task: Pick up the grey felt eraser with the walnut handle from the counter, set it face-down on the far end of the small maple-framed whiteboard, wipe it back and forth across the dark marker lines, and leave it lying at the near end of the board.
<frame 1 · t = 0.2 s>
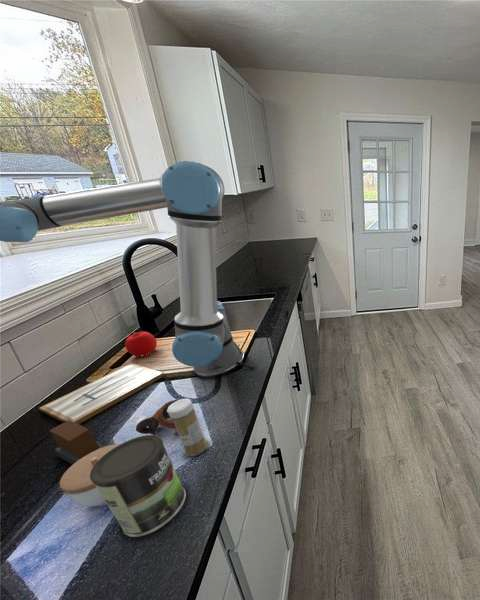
trinket box: (112, 492, 66), on the counter
coffee can: (156, 510, 61), on the counter
sprinkles bottle: (197, 450, 75), on the counter
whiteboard: (107, 392, 98), on the counter
eraser: (84, 455, 75), on the counter
fruit: (145, 354, 119), on the counter
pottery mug: (171, 429, 81), on the counter
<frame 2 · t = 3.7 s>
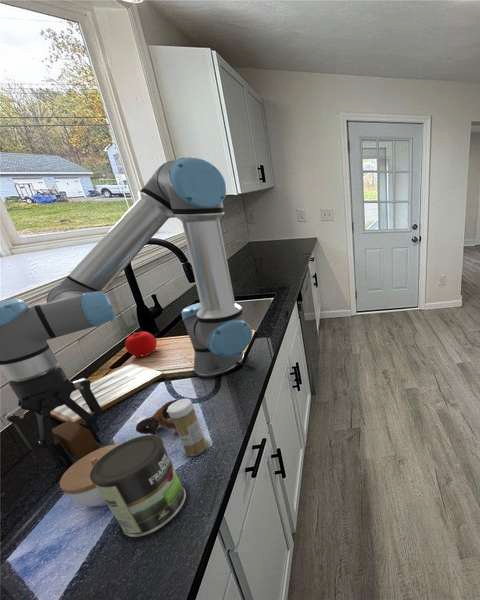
hand: (83, 453, 75), 1 cm above the counter, tool pointing down, fingers closed on eraser, 5 cm apart
eraser: (84, 455, 75), on the counter, touching gripper
everything else where it was.
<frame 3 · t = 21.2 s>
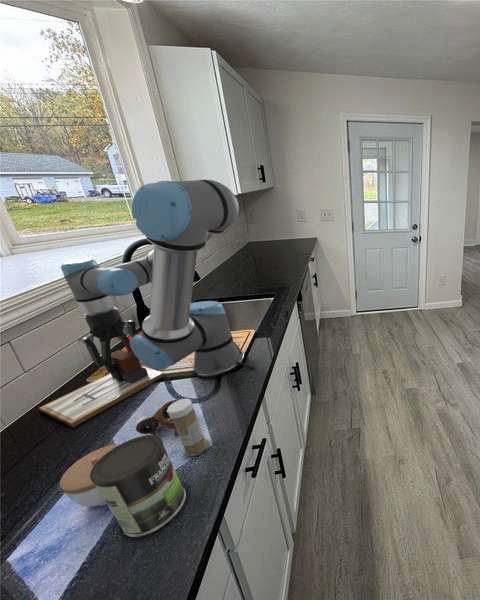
hand: (129, 374, 103), 2 cm above the counter, tool pointing down, fingers closed on eraser, 5 cm apart
eraser: (130, 375, 103), point 2 cm above the counter, touching gripper, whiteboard
everything else where it was.
when the fingers open (2 cm above the counter, at t = 21.2 s): eraser stays where it is, resting on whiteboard.
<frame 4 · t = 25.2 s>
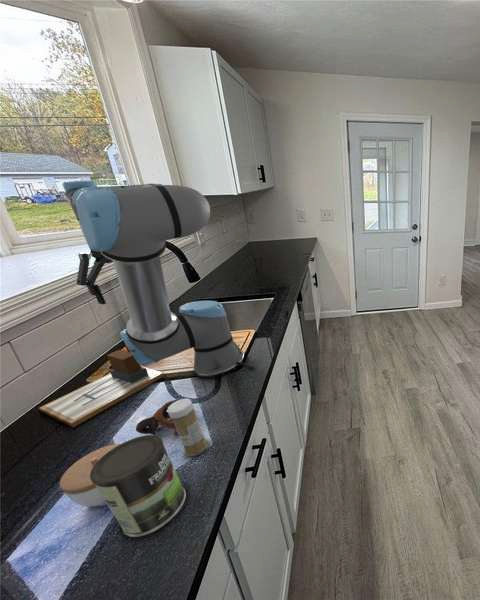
hand: (126, 296, 106), 25 cm above the counter, tool pointing down, fingers open, 13 cm apart
eraser: (130, 375, 103), point 2 cm above the counter, touching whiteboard
everything else where it was.
at the end: eraser inside the target area on the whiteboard (0.5 cm from its centre), point 1.6 cm above the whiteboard's base; eraser tilted 1°; the gripper is holding nothing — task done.
